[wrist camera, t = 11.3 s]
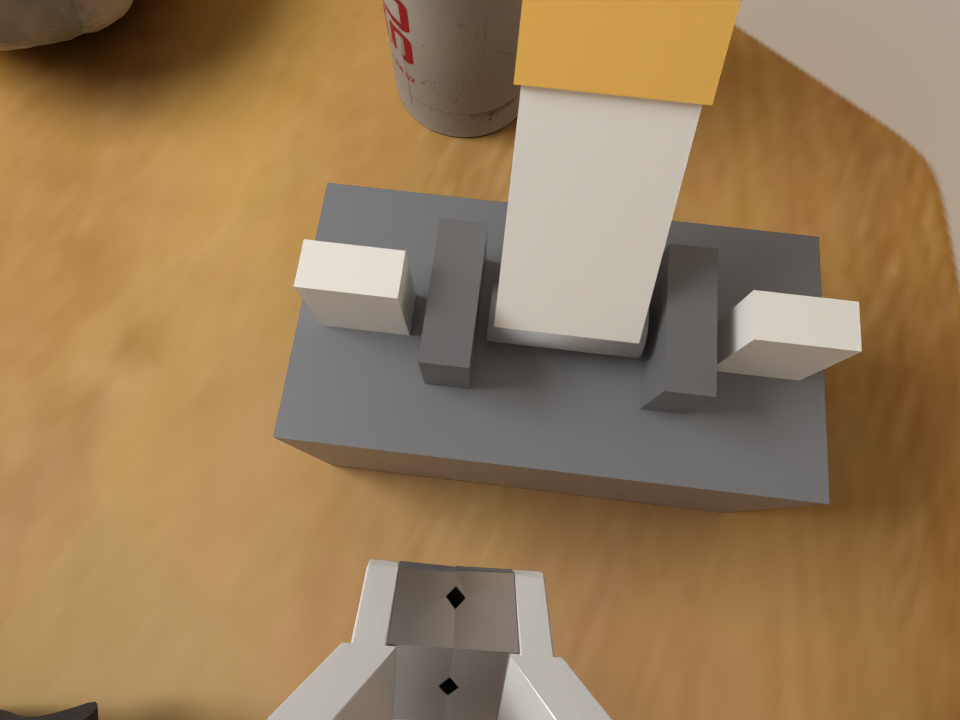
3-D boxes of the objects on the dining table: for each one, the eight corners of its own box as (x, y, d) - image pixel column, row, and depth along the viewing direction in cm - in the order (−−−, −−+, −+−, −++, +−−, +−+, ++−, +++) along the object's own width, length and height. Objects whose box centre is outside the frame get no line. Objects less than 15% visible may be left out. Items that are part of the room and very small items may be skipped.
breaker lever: (638, 372, 20) (741, -2, 14) (484, 354, 20) (525, -24, 15) (629, 336, 22) (716, -5, 16) (489, 320, 22) (526, -24, 17)
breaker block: (723, 512, 29) (902, 498, 17) (332, 465, 29) (233, 417, 17) (724, 317, 32) (879, 184, 20) (366, 276, 32) (302, 122, 20)
